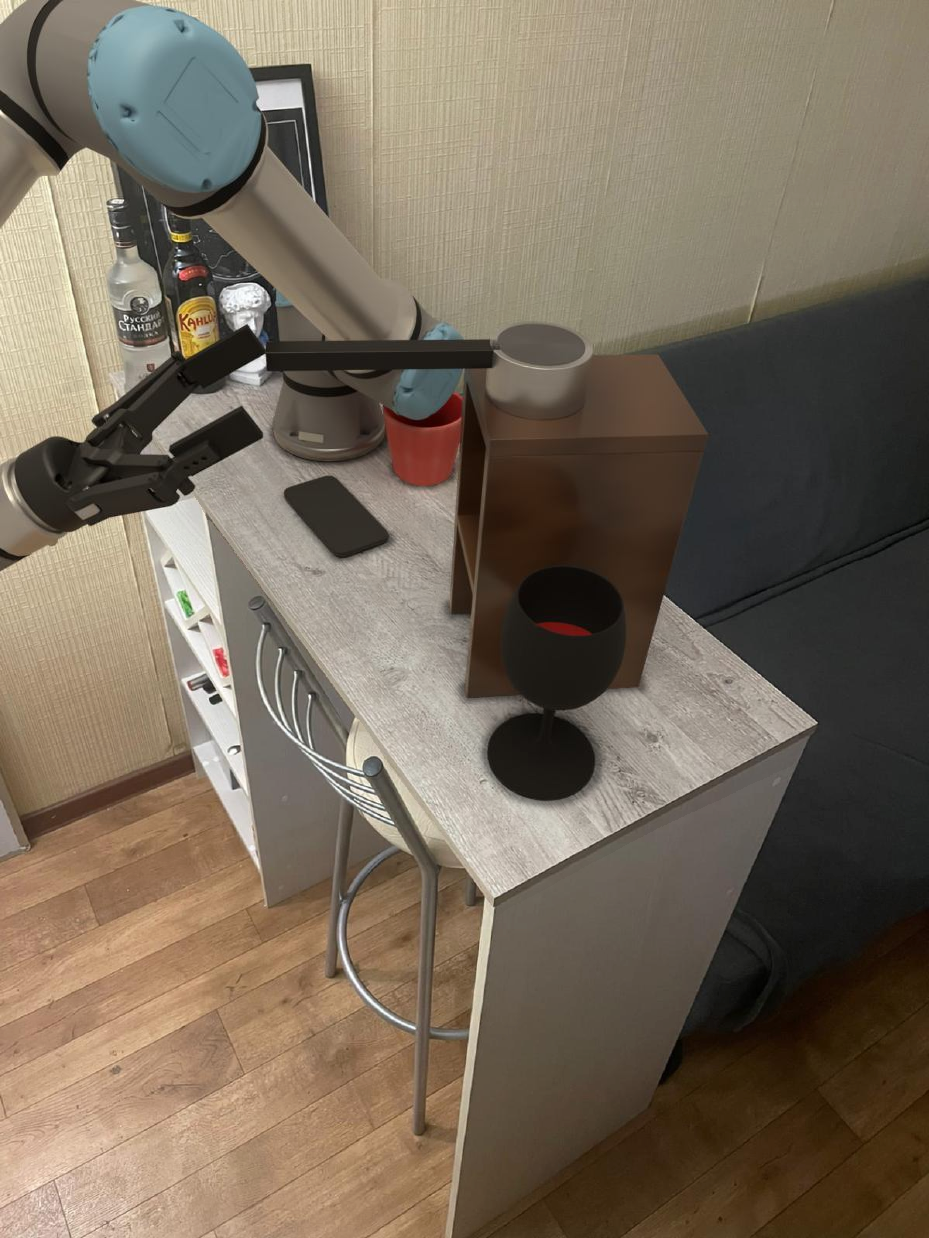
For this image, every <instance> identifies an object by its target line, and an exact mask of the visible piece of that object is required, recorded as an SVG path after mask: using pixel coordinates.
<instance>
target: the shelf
mask: <svg viewBox="0 0 929 1238" xmlns="http://www.w3.org/2000/svg"><path fill="white" fill-rule="evenodd" d="M463 371H464V373H463V389H462V398H463V402H462V417H461V432H460V444H459V447H458V450H459V451H458V464H457V466H458V467H457V479H456V480H457V481H456V494H455V495H456V496H455V498H456V499H455V512H454V526H453V543H452V557H451V570H450V571H451V573H450V588H449V601H448V606H449V612H450V614H451V615H461V614H462V615H463V614H470V623H469V637H468V645H467V647H468V648H467V659H466V670H465V683H464V689H465V690H464V691H465V695H466V698H467V699H469V698H484V697H499V696H515V695H517V696H518V695H521V694H520V693H519V692H518V691H517V690H516V689H515V687H514V686H513V685H512V684H511V682H510V680H509V678H508V677H507V675H506V673H505V670H504V667H503V663H502V659H501V651H500V637H501V629H502V624H503V620H504V617H505V614H506V611H507V608H508V606H509V603H510V601H511V599H512V597H513V595H514V593H515V591H516V589H517V588H518V586H519V584H520V583H521V581H522V580H523V579H524V578H525V577H526V576H527V575H529V574H530V573H532V572H534V571H536V570H538V569H541V568H544V567H549V566H558V565H567V566H576V567H580V568H585V569H588V570H590V571H593V572H595V573H598V574H600V575H601V576H603V577H604V578H606V579H607V580H609V581H610V582H611V583H612V584H613V585H614V586H615V587H616V588H617V589H618V591H619V592H620V594H621V596H622V599H623V603H624V609H625V617H626V645H625V651H624V656H623V660H622V663H621V666H620V668H619V671H618V673H617V675H616V677H615V678H614V680H613V682H612V683H611V684H610V686H609V687H608V688H607V690H610V689H624V688H627V689H628V688H638V687H639V686H640V683H641V679H642V675H643V672H644V669H645V666H646V665H645V664H646V661H647V657H648V654H649V650H650V646H651V643H652V639H653V635H654V633H655V628H656V625H657V621H658V617H659V615H660V610H661V606H662V603H663V600H664V597H665V593H666V589H667V586H668V581H669V578H670V574H671V571H672V567H673V563H674V559H675V556H676V552H677V549H678V545H679V541H680V538H681V534H682V531H683V527H684V523H685V520H686V517H687V513H688V510H689V506H690V502H691V498H692V495H693V491H694V487H695V484H696V480H697V478H698V477H697V476H698V473H699V470H700V466H701V462H702V459H703V455H704V451H705V448H706V445H707V442H708V438H709V433H708V432H707V430H706V428H705V427H704V425H703V424H702V422H701V420H700V418H699V417H698V416H697V414H696V412H695V411H694V409H693V408H692V406H691V405H690V403H689V401H688V400H687V398H686V396H685V395H684V393H683V392H682V390H681V389H680V387H679V386H678V384H677V382H676V380H675V379H674V378H673V376H672V374H671V373H670V372H669V370H668V368H667V367H666V365H665V363H664V361H663V360H662V358H661V357H660V355H659V354H656V353H651V354H647V353H646V354H645V353H644V354H643V353H642V354H640V353H639V354H593V355H592V362H591V368H590V374H589V380H588V386H587V392H586V398H585V403H584V405H583V406H582V408H581V409H580V410H578V411H577V412H575V413H574V414H572V415H569V416H566V417H563V418H558V419H549V420H537V419H528V418H522V417H518V416H515V415H511V414H509V413H506V412H504V411H502V410H500V409H499V408H497V407H496V406H494V405H493V404H492V403H491V402H490V401H489V400H488V398H487V396H486V393H485V386H486V374H487V368H485V369H463Z"/></svg>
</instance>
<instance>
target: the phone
mask: <svg viewBox="0 0 929 1238" xmlns="http://www.w3.org/2000/svg"><path fill="white" fill-rule="evenodd" d="M283 497H284V499H285V501H286V502H288V503H289V504H290V506H291V507H292V508H293V509H294V511H295V512H296V513H297V514H298V515H299V516H300V517H301V518H302V520H303V521H304V522H305V523H306V524H307V526H308V527H309V528H310V529H311V530H312V532H314V534H315V535H316V536H317V537H318V538H319V539H320V541H321V542H322V543H323V544H324V545H325V546H326V547H327V548H328V550H329V551H330V552H331V553H332V554H333V555H334V556H336V557H339V558H345V557H349V556H352V555H355V554H358V553H361V552H363V551H366V550H368V549H372V548H374V547H378V546H380V545H383V544H385V543H386V542H388V541H389V531H388V530H387V529H386V528H385V527H384V526H383V524H381V523H380V521H378V519H377V518H376V517H375V516H374V515H372V514H371V512H370V511H369V510H368V509H367V508H366V507H365V506H364V505H363V504H362V503H361V502H360V501H359V500H358V498H356V496H355V495H353V493H352V492H350V490H348V488H347V487H346V486H345V485H344V484H343V483H342V482H341V481H340V480H339V479H338V478H337V477H335V476H334V475H324V476H323V475H322V476H320V477H316V478H313V479H311V480H306V481H304V482H300V483H297V484H293V485H291V486H288V487H286V488H285V489H284V490H283Z"/></svg>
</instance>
